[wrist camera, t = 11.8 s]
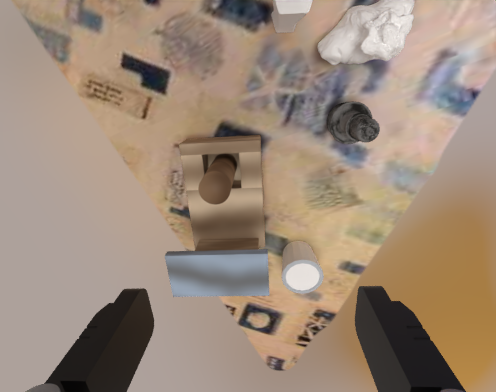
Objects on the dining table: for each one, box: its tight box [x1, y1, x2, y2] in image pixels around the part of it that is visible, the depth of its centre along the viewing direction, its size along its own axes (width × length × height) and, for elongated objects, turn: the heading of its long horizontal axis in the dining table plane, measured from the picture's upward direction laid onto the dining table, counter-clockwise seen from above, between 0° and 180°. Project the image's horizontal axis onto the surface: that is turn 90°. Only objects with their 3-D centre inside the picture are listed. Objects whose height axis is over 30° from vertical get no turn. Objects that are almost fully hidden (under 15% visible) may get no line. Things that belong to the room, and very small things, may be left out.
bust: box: [318, 0, 414, 65], centre depth 34 cm, size 12×8×11 cm
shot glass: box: [282, 241, 324, 294], centre depth 48 cm, size 7×7×7 cm
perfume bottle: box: [271, 0, 313, 33], centre depth 31 cm, size 5×4×15 cm
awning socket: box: [165, 135, 269, 297], centre depth 40 cm, size 18×13×16 cm
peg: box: [198, 153, 237, 205], centre depth 40 cm, size 4×4×12 cm
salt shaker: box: [327, 102, 380, 144], centre depth 37 cm, size 6×6×12 cm
